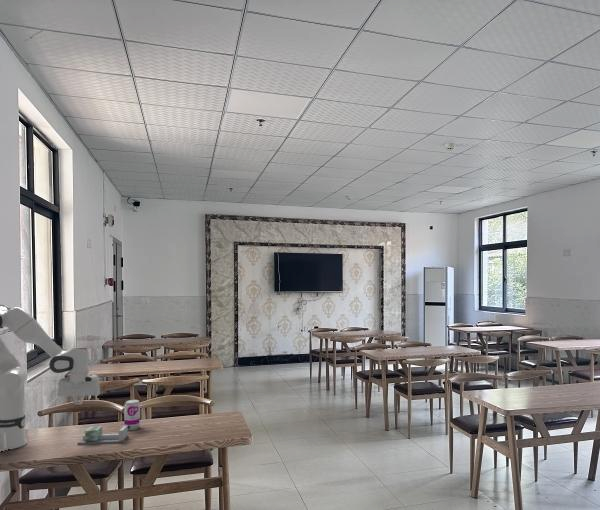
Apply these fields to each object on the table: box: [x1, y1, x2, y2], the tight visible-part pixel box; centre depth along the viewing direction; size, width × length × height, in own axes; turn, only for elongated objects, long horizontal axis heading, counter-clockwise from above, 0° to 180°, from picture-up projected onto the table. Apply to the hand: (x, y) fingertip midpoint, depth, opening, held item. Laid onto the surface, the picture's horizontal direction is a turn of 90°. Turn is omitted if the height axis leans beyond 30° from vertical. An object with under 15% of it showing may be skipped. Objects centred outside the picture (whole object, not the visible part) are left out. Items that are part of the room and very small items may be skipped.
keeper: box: [84, 425, 103, 441], centre depth 228 cm, size 6×7×5 cm
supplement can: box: [123, 399, 141, 431], centre depth 248 cm, size 8×8×15 cm
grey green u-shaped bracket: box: [77, 425, 129, 446], centre depth 228 cm, size 22×10×6 cm, turn 95°
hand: (78, 404), depth 228 cm, fingers closed
